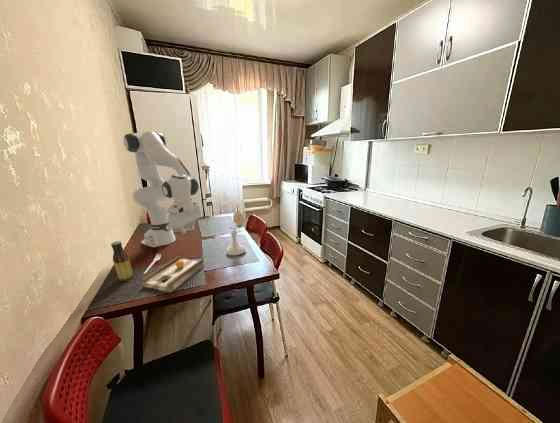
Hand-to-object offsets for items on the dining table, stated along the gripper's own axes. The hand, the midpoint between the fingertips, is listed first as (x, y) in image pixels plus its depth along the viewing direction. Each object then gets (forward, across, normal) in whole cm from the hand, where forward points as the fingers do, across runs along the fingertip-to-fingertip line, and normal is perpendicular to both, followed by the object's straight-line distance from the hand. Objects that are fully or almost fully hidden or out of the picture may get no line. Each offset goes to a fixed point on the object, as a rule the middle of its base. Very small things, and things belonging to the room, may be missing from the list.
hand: (188, 230), depth 124 cm
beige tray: (+19, +14, 0) cm, 23 cm away
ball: (+15, +10, 0) cm, 17 cm away
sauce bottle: (+19, +23, -23) cm, 38 cm away
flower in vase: (+19, -18, +18) cm, 32 cm away
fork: (+20, +8, -22) cm, 31 cm away
